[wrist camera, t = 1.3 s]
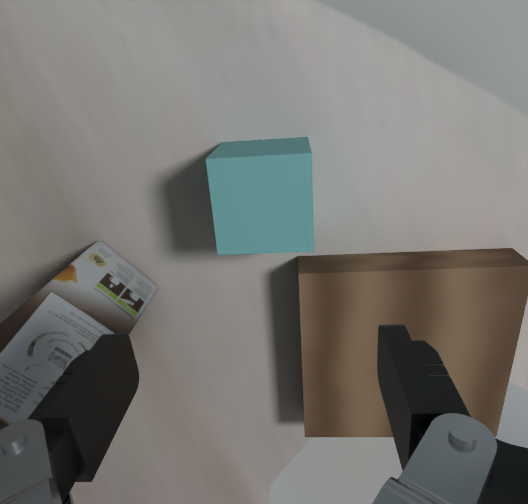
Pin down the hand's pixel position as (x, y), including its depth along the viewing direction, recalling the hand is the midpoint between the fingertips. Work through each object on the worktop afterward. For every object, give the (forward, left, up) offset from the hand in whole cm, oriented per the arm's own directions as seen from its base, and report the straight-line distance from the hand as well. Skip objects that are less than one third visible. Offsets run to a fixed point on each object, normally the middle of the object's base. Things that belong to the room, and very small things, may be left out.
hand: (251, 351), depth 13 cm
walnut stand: (+10, -13, -18) cm, 24 cm away
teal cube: (0, +1, -18) cm, 18 cm away
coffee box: (-15, -8, -19) cm, 25 cm away
